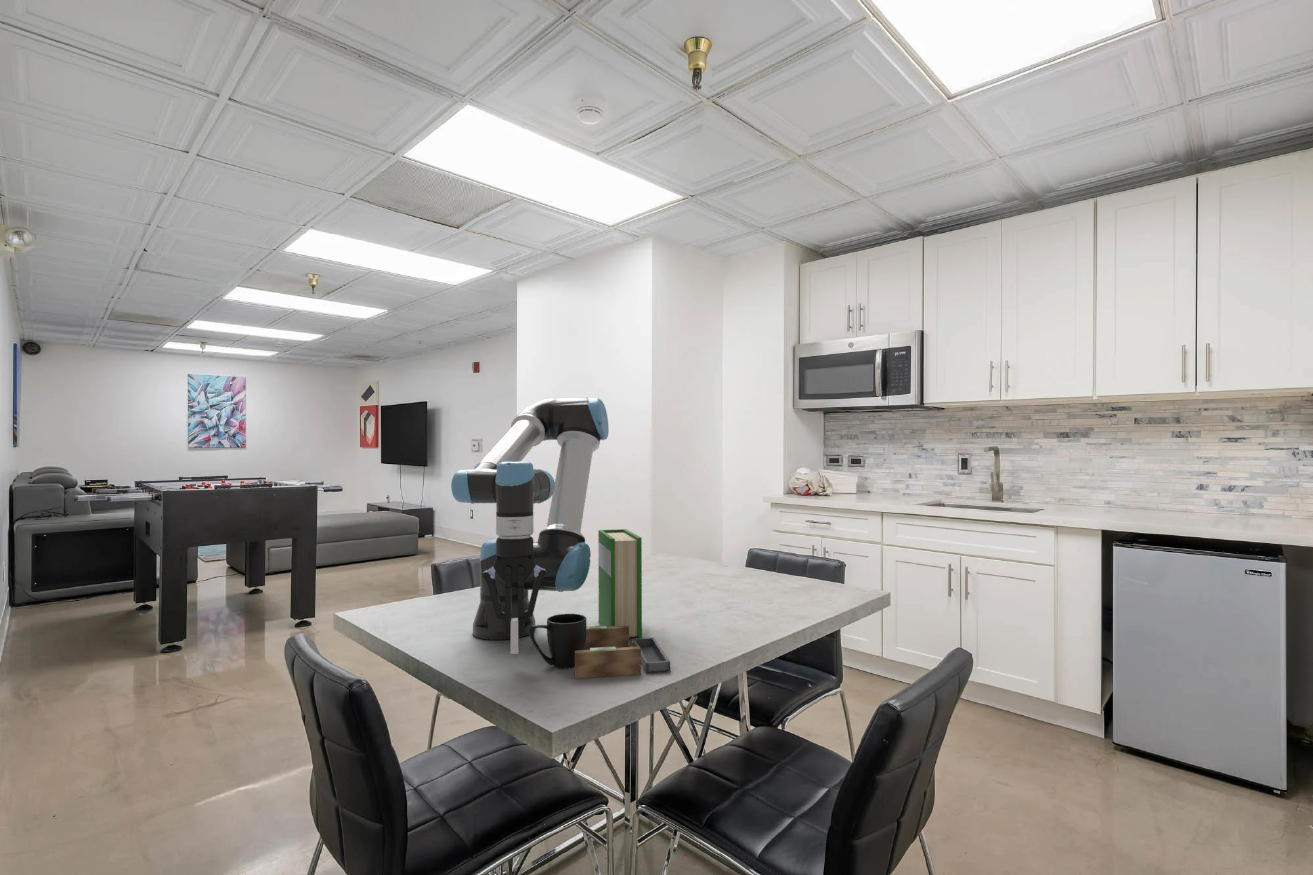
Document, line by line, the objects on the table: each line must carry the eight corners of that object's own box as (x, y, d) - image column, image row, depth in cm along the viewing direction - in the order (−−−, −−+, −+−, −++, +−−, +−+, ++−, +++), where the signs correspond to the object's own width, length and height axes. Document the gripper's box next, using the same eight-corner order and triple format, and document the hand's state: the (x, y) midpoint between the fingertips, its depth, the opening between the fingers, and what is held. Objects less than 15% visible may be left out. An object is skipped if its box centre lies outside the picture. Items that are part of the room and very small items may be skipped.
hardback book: (641, 639, 148) (641, 537, 148) (611, 641, 146) (610, 538, 146) (626, 620, 165) (626, 529, 165) (598, 622, 163) (598, 530, 163)
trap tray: (645, 673, 125) (645, 663, 125) (632, 647, 141) (632, 638, 141) (670, 671, 126) (670, 661, 126) (654, 646, 142) (654, 637, 142)
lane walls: (575, 678, 122) (575, 651, 122) (570, 651, 139) (570, 627, 139) (641, 673, 124) (640, 647, 124) (628, 647, 141) (627, 624, 141)
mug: (524, 664, 131) (524, 618, 131) (579, 655, 136) (579, 611, 136) (534, 676, 123) (534, 628, 123) (592, 667, 129) (592, 620, 129)
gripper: (480, 539, 124) (480, 659, 123) (547, 537, 126) (547, 655, 125) (483, 534, 131) (483, 648, 130) (546, 533, 133) (546, 644, 133)
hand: (514, 651), depth 128 cm, fingers closed
